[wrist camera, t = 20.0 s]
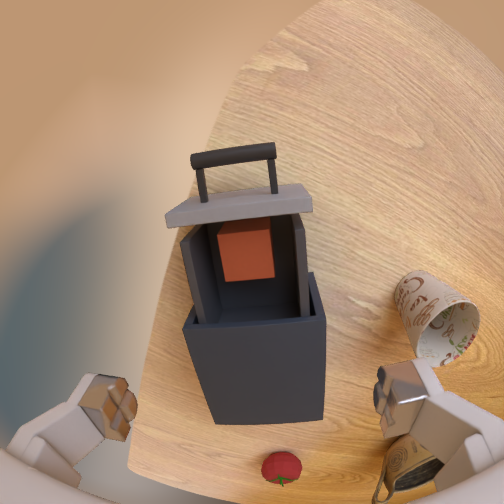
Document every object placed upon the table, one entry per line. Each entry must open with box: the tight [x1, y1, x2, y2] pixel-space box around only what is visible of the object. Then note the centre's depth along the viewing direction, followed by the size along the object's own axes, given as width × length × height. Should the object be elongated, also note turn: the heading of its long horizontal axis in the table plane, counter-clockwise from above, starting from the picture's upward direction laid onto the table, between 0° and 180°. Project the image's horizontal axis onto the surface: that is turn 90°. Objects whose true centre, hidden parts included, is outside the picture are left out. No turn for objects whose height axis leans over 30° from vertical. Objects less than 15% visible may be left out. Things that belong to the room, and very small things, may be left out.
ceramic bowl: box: [372, 433, 445, 504], centre depth 37 cm, size 22×17×15 cm
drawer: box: [165, 142, 313, 324], centre depth 27 cm, size 18×11×8 cm, turn 8°
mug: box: [395, 270, 480, 367], centre depth 28 cm, size 8×13×10 cm, turn 51°
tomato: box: [261, 452, 302, 486], centre depth 43 cm, size 8×8×8 cm
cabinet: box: [182, 272, 326, 425], centre depth 31 cm, size 15×13×10 cm
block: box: [217, 217, 275, 282], centre depth 27 cm, size 4×4×4 cm
